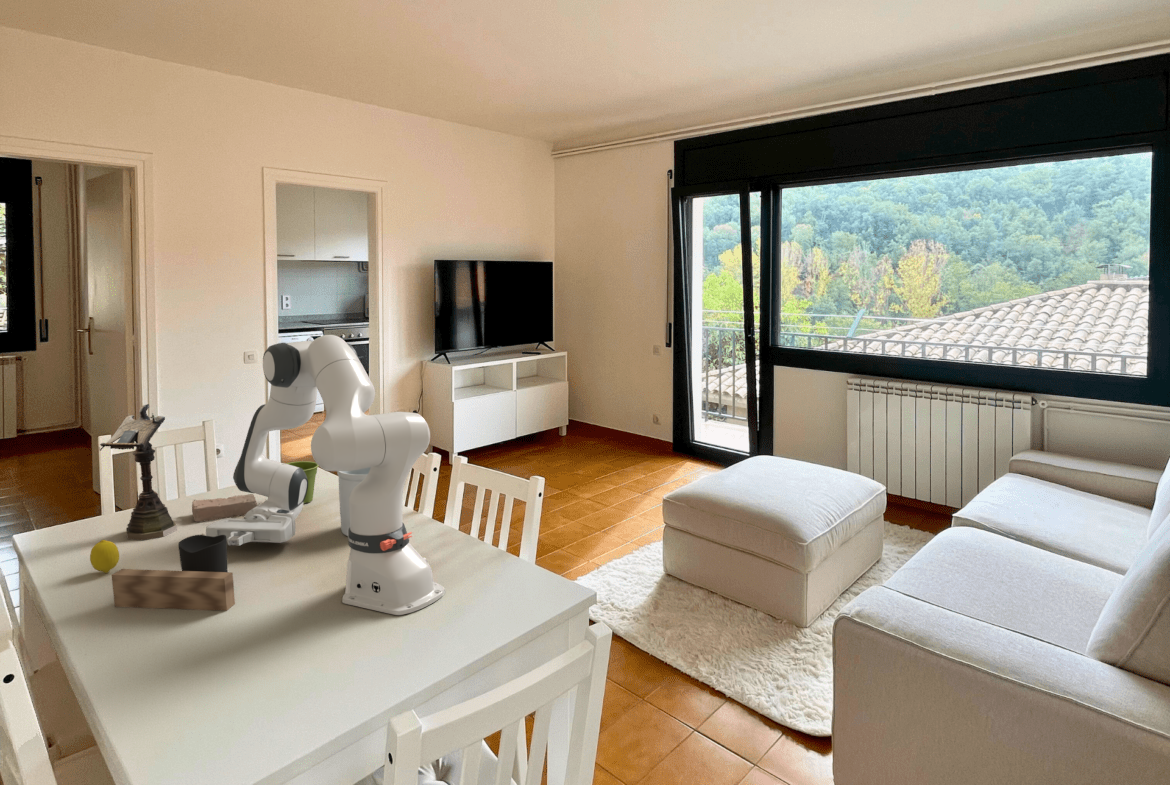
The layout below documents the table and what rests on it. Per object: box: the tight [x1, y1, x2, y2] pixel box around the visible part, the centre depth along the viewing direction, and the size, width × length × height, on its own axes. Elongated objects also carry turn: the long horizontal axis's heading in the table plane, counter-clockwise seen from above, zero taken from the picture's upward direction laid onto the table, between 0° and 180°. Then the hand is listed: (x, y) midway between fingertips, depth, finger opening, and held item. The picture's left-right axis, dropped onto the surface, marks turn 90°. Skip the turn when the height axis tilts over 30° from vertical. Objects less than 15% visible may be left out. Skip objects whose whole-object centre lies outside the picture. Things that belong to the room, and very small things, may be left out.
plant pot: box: [285, 460, 320, 505], centre depth 212 cm, size 12×12×11 cm
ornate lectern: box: [99, 403, 178, 541], centre depth 181 cm, size 17×13×35 cm
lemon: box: [89, 539, 120, 574], centre depth 160 cm, size 6×6×8 cm
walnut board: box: [111, 568, 236, 611], centre depth 145 cm, size 24×3×7 cm, turn 87°
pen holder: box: [177, 534, 228, 572], centre depth 155 cm, size 9×9×10 cm
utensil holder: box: [336, 467, 371, 537], centre depth 189 cm, size 15×15×18 cm
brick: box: [191, 493, 259, 523], centre depth 201 cm, size 16×8×5 cm, turn 123°
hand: (233, 542), depth 167 cm, fingers closed
